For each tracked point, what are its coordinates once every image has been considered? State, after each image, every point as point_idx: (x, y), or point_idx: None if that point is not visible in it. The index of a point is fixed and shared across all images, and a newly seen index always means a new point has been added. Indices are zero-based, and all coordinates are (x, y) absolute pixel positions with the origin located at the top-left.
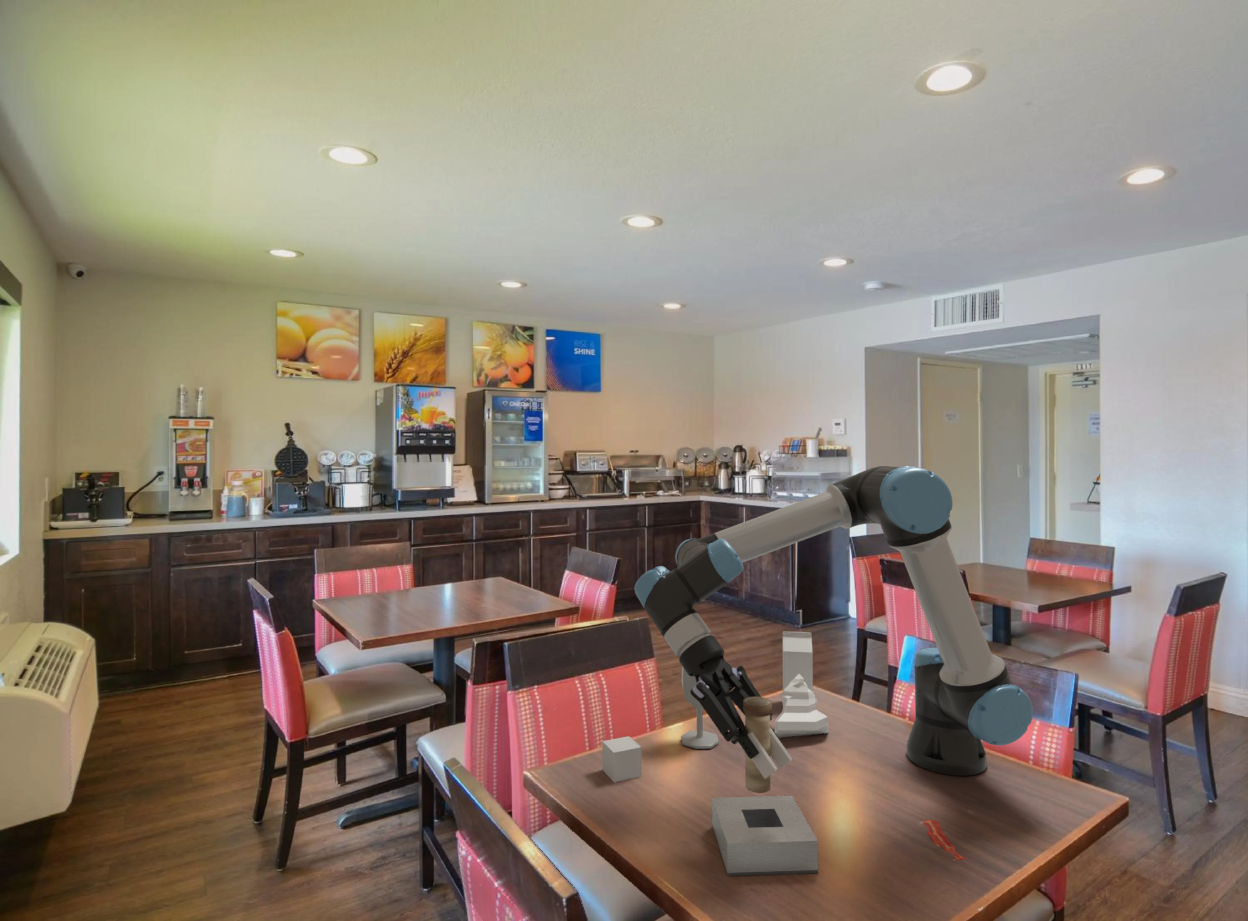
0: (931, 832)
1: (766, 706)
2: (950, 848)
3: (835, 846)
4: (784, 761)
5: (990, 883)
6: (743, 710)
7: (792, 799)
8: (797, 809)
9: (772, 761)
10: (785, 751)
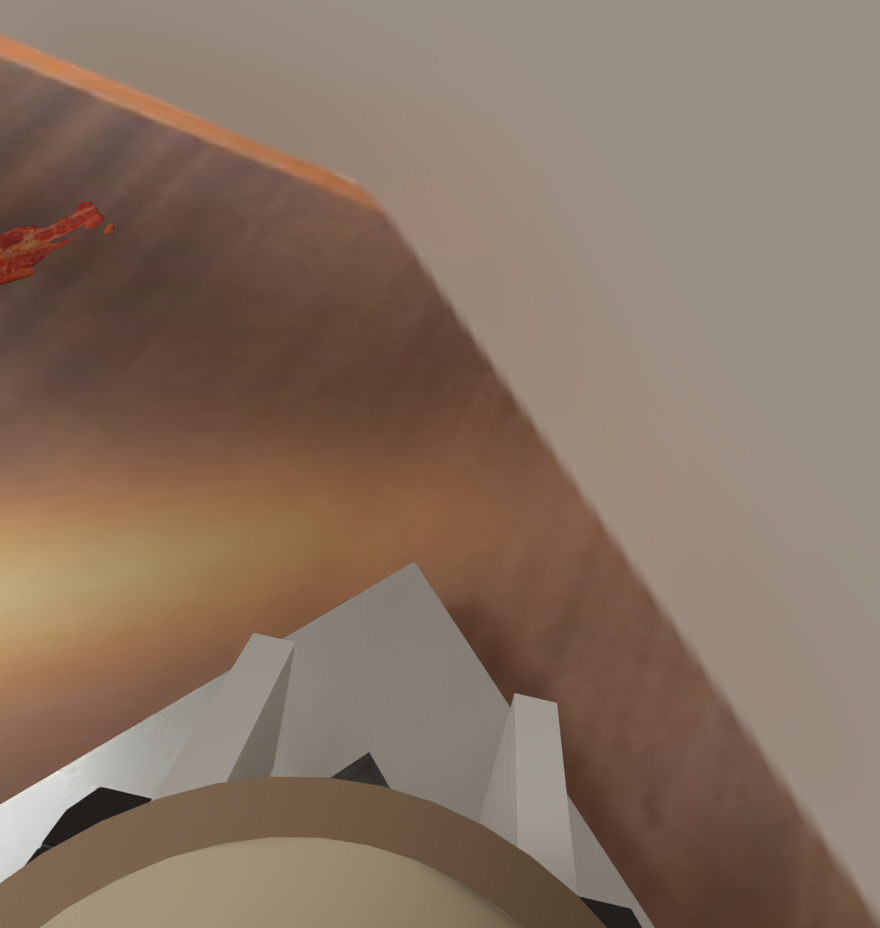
0: None
1: (507, 851)
2: (35, 238)
3: (175, 586)
4: (281, 707)
5: (207, 154)
6: None
7: (25, 803)
8: (146, 736)
9: (520, 741)
10: (247, 688)
